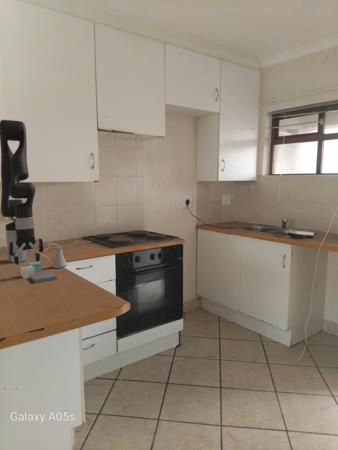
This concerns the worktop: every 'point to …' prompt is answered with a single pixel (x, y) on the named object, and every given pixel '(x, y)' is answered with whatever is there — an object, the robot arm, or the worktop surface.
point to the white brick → (27, 271)
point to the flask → (59, 259)
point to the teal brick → (36, 266)
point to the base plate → (42, 277)
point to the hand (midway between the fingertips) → (27, 262)
